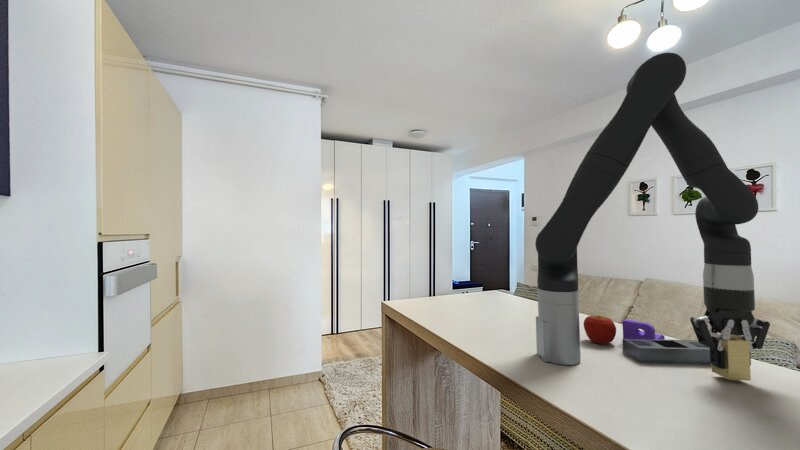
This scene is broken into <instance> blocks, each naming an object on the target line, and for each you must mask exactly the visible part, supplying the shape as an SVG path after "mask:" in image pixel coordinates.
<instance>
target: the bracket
mask: <svg viewBox="0 0 800 450" xmlns="http://www.w3.org/2000/svg"><path fill="white" fill-rule="evenodd" d="M622 339H665V340H666V338H665V335H664V334H661V333H656V329H655V327H654V326H653V325H652V324H651V323H649V322H643V321H637V320H633V319H623V320H622Z"/></svg>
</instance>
